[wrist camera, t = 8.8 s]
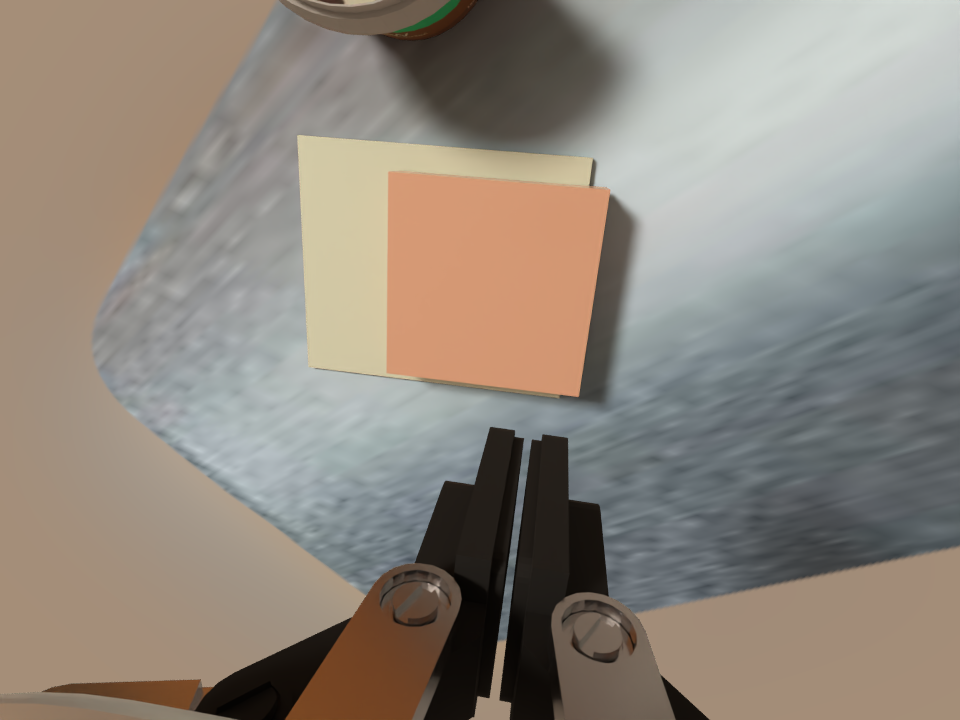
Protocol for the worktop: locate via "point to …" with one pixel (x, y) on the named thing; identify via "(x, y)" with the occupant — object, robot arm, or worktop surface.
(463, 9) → the food container
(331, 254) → the mat
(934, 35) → the worktop surface
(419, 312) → the tile
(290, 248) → the worktop surface
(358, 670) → the robot arm
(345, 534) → the worktop surface
